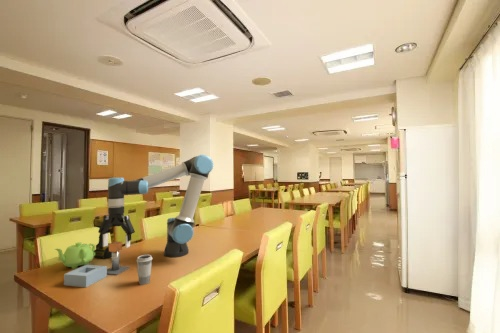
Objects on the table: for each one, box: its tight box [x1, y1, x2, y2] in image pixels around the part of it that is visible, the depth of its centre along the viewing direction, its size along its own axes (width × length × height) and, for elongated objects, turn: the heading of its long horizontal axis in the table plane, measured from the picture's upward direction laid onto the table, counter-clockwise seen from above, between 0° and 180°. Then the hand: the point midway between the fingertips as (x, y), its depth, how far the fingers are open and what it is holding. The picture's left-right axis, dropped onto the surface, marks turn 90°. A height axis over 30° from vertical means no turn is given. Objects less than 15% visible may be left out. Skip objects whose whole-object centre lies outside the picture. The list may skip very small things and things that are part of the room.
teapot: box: [54, 242, 96, 270], centre depth 135 cm, size 16×14×13 cm
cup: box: [136, 254, 153, 286], centre depth 113 cm, size 7×7×12 cm
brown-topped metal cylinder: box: [109, 241, 123, 271], centre depth 128 cm, size 4×4×14 cm
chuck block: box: [63, 264, 108, 288], centre depth 116 cm, size 12×12×5 cm
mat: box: [107, 265, 131, 276], centre depth 128 cm, size 10×10×1 cm
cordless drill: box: [93, 215, 122, 260], centre depth 151 cm, size 8×21×25 cm, turn 78°
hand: (116, 246), depth 128 cm, fingers open, 13 cm apart
